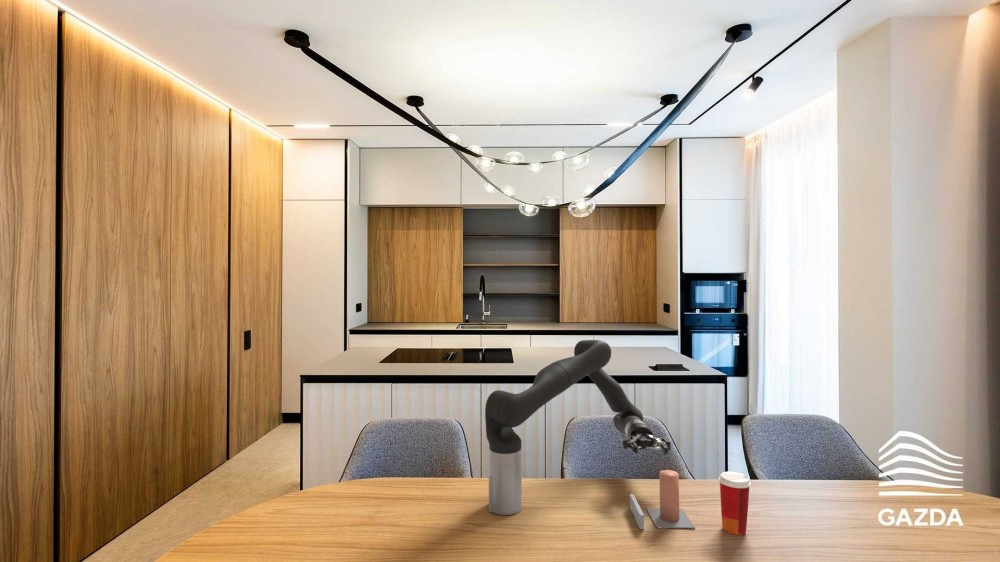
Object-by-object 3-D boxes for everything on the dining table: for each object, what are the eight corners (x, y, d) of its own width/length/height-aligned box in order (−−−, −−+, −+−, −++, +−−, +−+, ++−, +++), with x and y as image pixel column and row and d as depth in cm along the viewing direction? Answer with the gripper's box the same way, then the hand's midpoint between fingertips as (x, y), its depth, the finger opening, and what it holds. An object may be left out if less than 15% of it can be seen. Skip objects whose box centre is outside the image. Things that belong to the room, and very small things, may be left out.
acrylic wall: (640, 530, 131) (640, 514, 130) (629, 508, 143) (629, 494, 142) (643, 530, 130) (643, 515, 130) (633, 508, 142) (633, 494, 142)
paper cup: (743, 522, 134) (744, 471, 134) (755, 538, 126) (755, 483, 126) (713, 521, 135) (713, 470, 134) (723, 536, 127) (723, 482, 127)
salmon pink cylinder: (662, 521, 134) (662, 477, 134) (658, 512, 139) (657, 470, 139) (681, 521, 134) (681, 477, 133) (676, 512, 139) (675, 469, 138)
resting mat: (656, 528, 131) (656, 526, 131) (646, 509, 141) (646, 508, 141) (695, 528, 131) (695, 527, 131) (682, 510, 141) (682, 509, 141)
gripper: (616, 421, 164) (627, 437, 148) (660, 422, 164) (675, 438, 147) (616, 444, 164) (626, 462, 148) (660, 445, 164) (675, 464, 147)
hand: (651, 450), depth 148 cm, fingers open, 8 cm apart
